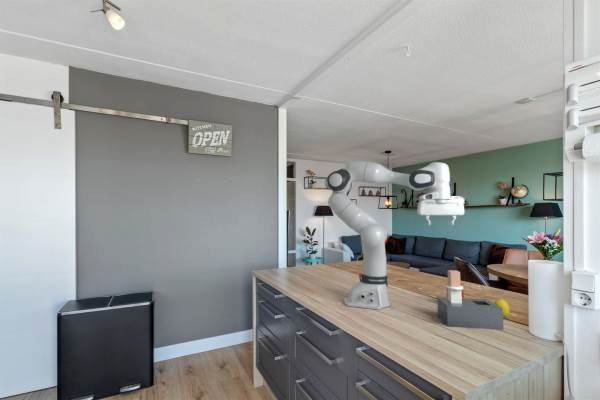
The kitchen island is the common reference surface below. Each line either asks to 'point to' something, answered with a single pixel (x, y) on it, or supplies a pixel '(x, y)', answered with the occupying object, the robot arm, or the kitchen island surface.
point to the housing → (470, 313)
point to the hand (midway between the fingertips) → (440, 225)
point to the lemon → (503, 305)
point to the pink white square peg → (454, 287)
